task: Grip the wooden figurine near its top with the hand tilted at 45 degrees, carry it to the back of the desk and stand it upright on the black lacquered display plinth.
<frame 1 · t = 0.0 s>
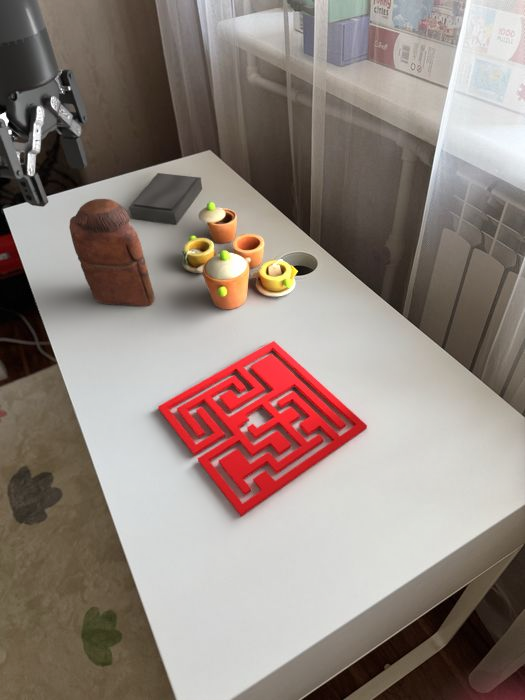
hand: (59, 185, 62), 28 cm above the table, tool pointing down, fingers open, 8 cm apart
maze puzzle: (259, 419, 72), on the table
toy tea set: (230, 269, 95), on the table
wooden figurine: (125, 296, 92), on the table
display plinth: (168, 203, 111), on the table
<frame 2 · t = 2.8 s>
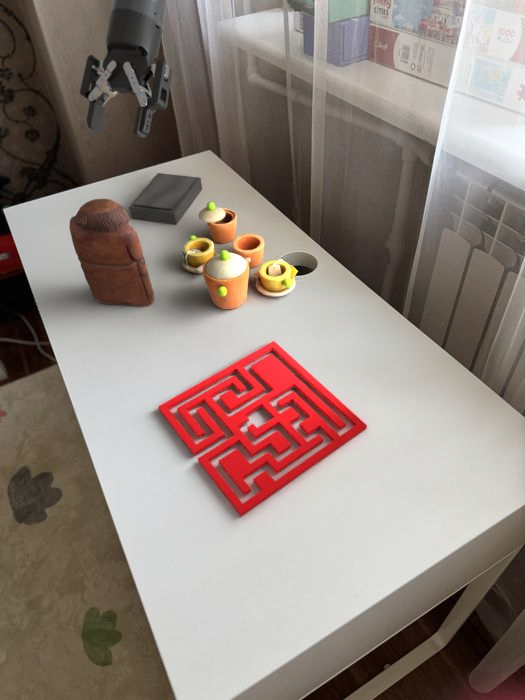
hand: (116, 133, 80), 24 cm above the table, tool tilted 40°, fingers open, 8 cm apart
nothing on the table moved.
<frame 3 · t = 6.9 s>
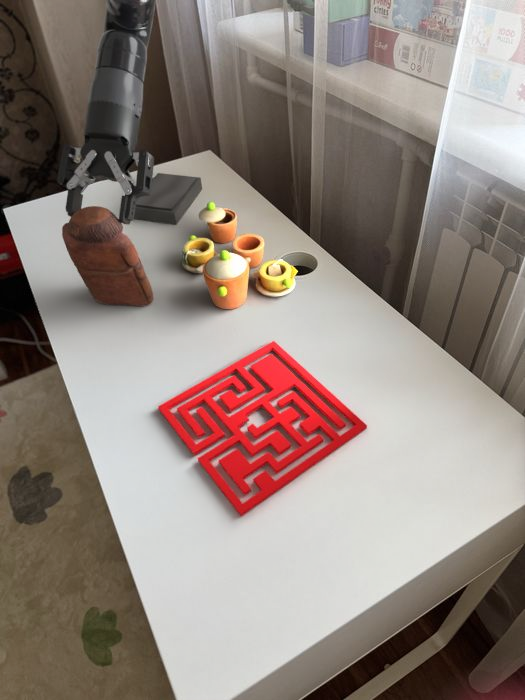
hand: (98, 220, 79), 16 cm above the table, tool tilted 45°, fingers closed on wooden figurine, 8 cm apart
wooden figurine: (125, 294, 91), on the table, touching gripper
everything else where it was.
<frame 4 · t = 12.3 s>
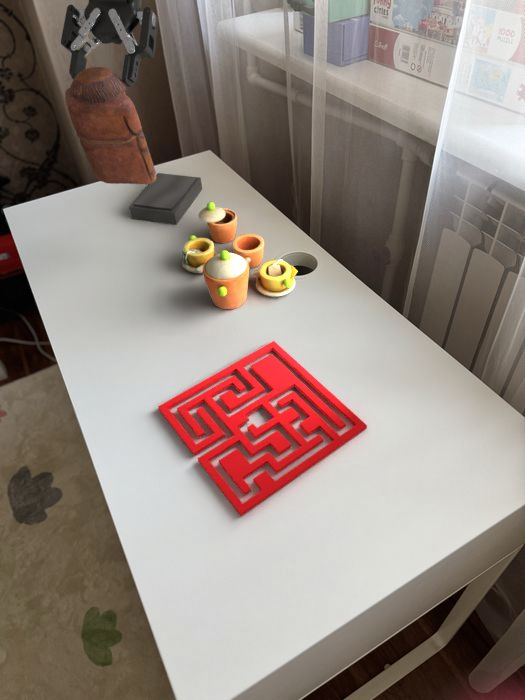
hand: (101, 82, 79), 30 cm above the table, tool tilted 45°, fingers closed on wooden figurine, 8 cm apart
wooden figurine: (127, 175, 91), point 14 cm above the table, touching gripper
everything else where it was.
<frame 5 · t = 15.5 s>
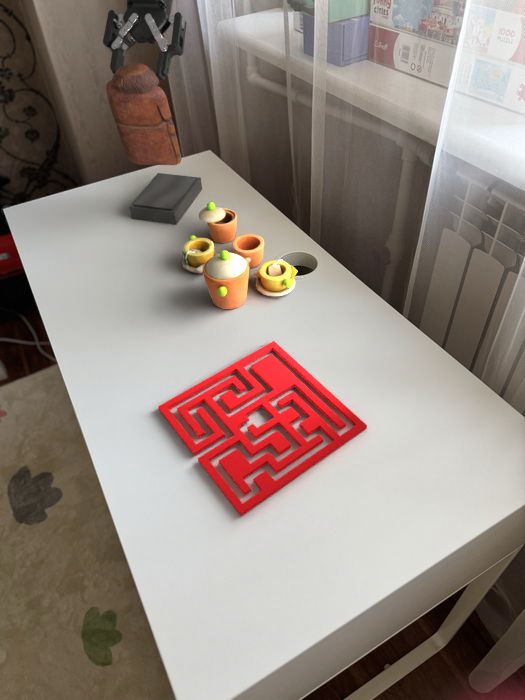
hand: (138, 76, 92), 25 cm above the table, tool tilted 45°, fingers closed on wooden figurine, 8 cm apart
wooden figurine: (156, 158, 105), point 10 cm above the table, touching gripper
everything else where it was.
when the fingers open (19 cm above the table, at t = 18.5 s): wooden figurine stays where it is, resting on display plinth.
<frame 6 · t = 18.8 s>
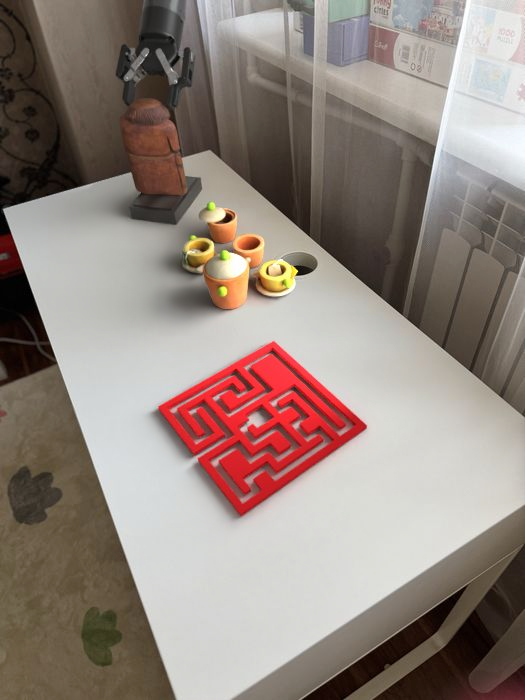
hand: (149, 107, 97), 20 cm above the table, tool tilted 45°, fingers open, 8 cm apart
wooden figurine: (162, 189, 110), point 3 cm above the table, touching display plinth, gripper
everything else where it was.
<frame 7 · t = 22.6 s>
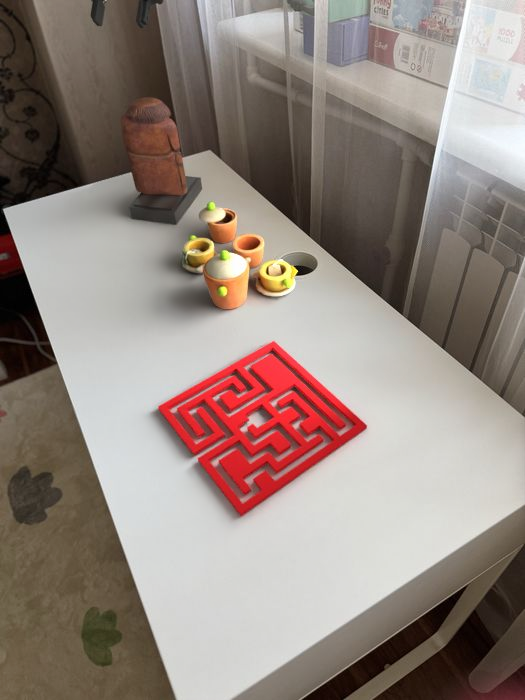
hand: (118, 24, 93), 31 cm above the table, tool tilted 45°, fingers open, 8 cm apart
wooden figurine: (162, 189, 110), point 3 cm above the table, touching display plinth
everything else where it was.
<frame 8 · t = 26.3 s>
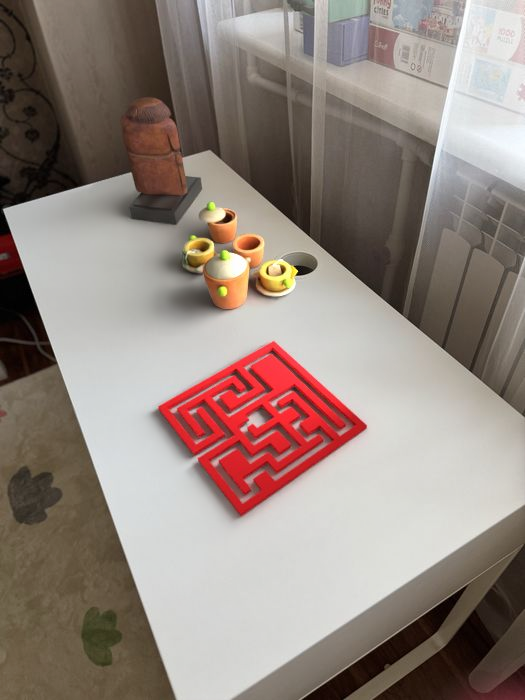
nothing on the table moved.
at the end: wooden figurine inside the target area on the display plinth (0.9 cm from its centre), point 2.8 cm above the display plinth's base; wooden figurine tilted 0°; the gripper is holding nothing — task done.
